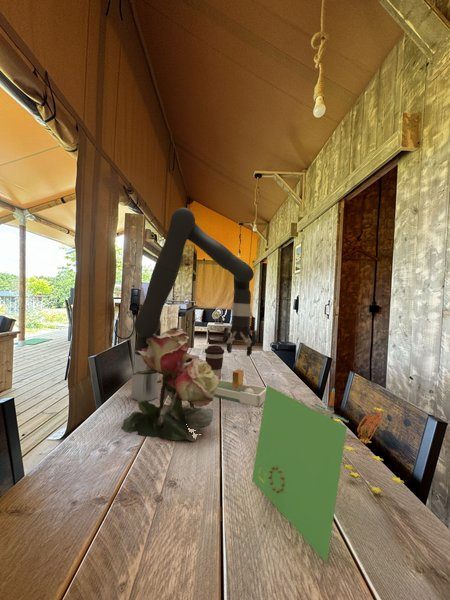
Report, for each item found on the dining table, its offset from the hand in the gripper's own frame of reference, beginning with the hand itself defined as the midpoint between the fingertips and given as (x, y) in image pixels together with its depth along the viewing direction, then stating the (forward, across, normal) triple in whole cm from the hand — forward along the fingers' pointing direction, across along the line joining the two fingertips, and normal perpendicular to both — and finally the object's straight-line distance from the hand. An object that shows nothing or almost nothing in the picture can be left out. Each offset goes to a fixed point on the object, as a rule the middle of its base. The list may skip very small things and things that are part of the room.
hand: (238, 354), depth 116 cm
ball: (+15, +5, 0) cm, 16 cm away
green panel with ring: (+18, +41, -42) cm, 61 cm away
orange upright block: (+16, 0, 0) cm, 16 cm away
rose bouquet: (+18, -7, -30) cm, 36 cm away
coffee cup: (+18, -22, +19) cm, 34 cm away
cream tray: (+17, 0, 0) cm, 17 cm away
